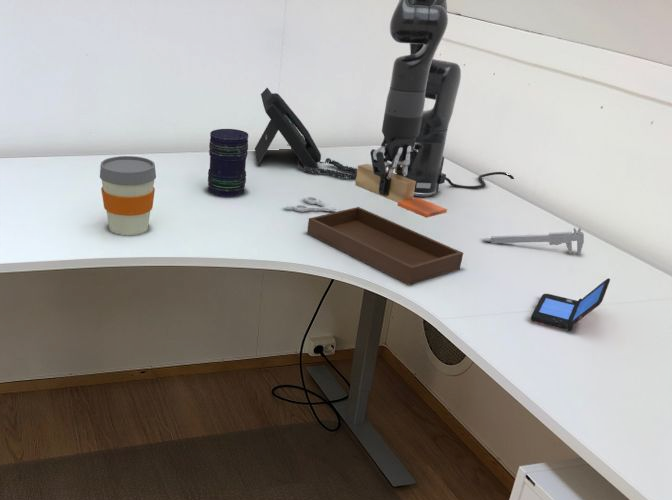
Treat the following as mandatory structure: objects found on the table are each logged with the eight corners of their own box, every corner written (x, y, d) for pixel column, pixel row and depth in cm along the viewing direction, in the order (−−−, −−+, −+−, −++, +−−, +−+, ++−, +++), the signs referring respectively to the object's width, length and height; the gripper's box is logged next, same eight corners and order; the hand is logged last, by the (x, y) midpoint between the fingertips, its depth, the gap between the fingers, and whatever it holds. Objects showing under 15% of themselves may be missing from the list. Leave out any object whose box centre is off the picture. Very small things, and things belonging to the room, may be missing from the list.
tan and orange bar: (369, 182, 177) (372, 162, 175) (446, 212, 162) (450, 191, 159) (350, 186, 174) (353, 166, 172) (426, 217, 159) (430, 196, 157)
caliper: (579, 253, 178) (587, 227, 175) (579, 255, 177) (587, 229, 174) (484, 241, 183) (490, 215, 180) (484, 242, 182) (490, 216, 179)
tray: (356, 221, 191) (358, 206, 189) (459, 269, 169) (463, 252, 167) (306, 233, 183) (308, 218, 181) (408, 285, 161) (411, 268, 159)
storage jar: (201, 193, 205) (203, 135, 197) (214, 182, 213) (217, 126, 205) (237, 199, 202) (241, 141, 194) (250, 188, 209) (254, 131, 202)
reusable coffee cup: (131, 214, 191) (130, 152, 183) (166, 229, 183) (167, 165, 175) (90, 226, 183) (87, 162, 175) (125, 242, 175) (124, 176, 168)
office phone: (362, 180, 218) (373, 106, 208) (260, 177, 218) (265, 102, 207) (346, 150, 243) (355, 82, 233) (254, 146, 243) (259, 78, 233)
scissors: (302, 194, 204) (377, 209, 196) (302, 197, 204) (376, 212, 196) (285, 206, 196) (362, 222, 188) (285, 209, 196) (361, 225, 188)
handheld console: (541, 297, 158) (551, 263, 154) (599, 311, 153) (611, 277, 149) (528, 321, 149) (538, 286, 145) (589, 338, 144) (602, 301, 140)
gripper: (392, 119, 154) (379, 204, 163) (441, 111, 161) (426, 193, 170) (365, 111, 160) (353, 193, 168) (414, 103, 166) (400, 183, 175)
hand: (390, 193), depth 169 cm, fingers closed on tan and orange bar, 3 cm apart
